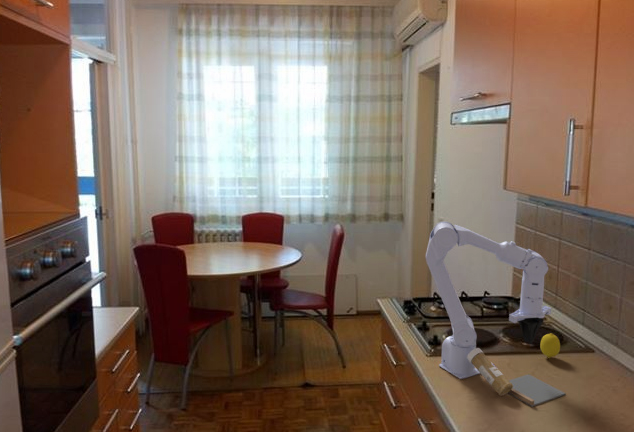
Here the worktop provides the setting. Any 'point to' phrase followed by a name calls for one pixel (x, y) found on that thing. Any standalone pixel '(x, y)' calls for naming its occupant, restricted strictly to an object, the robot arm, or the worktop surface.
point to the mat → (533, 390)
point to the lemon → (550, 345)
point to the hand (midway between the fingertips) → (528, 342)
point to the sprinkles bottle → (489, 371)
